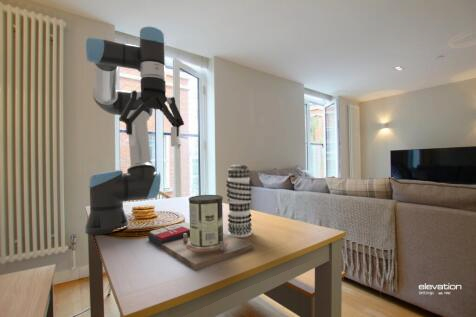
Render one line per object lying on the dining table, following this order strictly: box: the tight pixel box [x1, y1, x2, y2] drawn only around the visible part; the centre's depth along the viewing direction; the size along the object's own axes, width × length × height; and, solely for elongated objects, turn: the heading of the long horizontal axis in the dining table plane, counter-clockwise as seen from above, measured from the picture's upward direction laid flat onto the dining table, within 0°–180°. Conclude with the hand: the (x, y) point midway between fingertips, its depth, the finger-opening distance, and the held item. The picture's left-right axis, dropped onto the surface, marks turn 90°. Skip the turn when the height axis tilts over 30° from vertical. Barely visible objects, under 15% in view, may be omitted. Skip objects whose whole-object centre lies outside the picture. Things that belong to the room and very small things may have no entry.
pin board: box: [162, 232, 254, 271], centre depth 74 cm, size 20×20×4 cm
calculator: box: [147, 221, 190, 250], centre depth 84 cm, size 11×4×15 cm
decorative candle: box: [225, 164, 253, 238], centre depth 88 cm, size 9×9×25 cm
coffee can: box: [188, 194, 224, 249], centre depth 74 cm, size 10×10×14 cm
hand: (154, 146), depth 77 cm, fingers open, 13 cm apart
